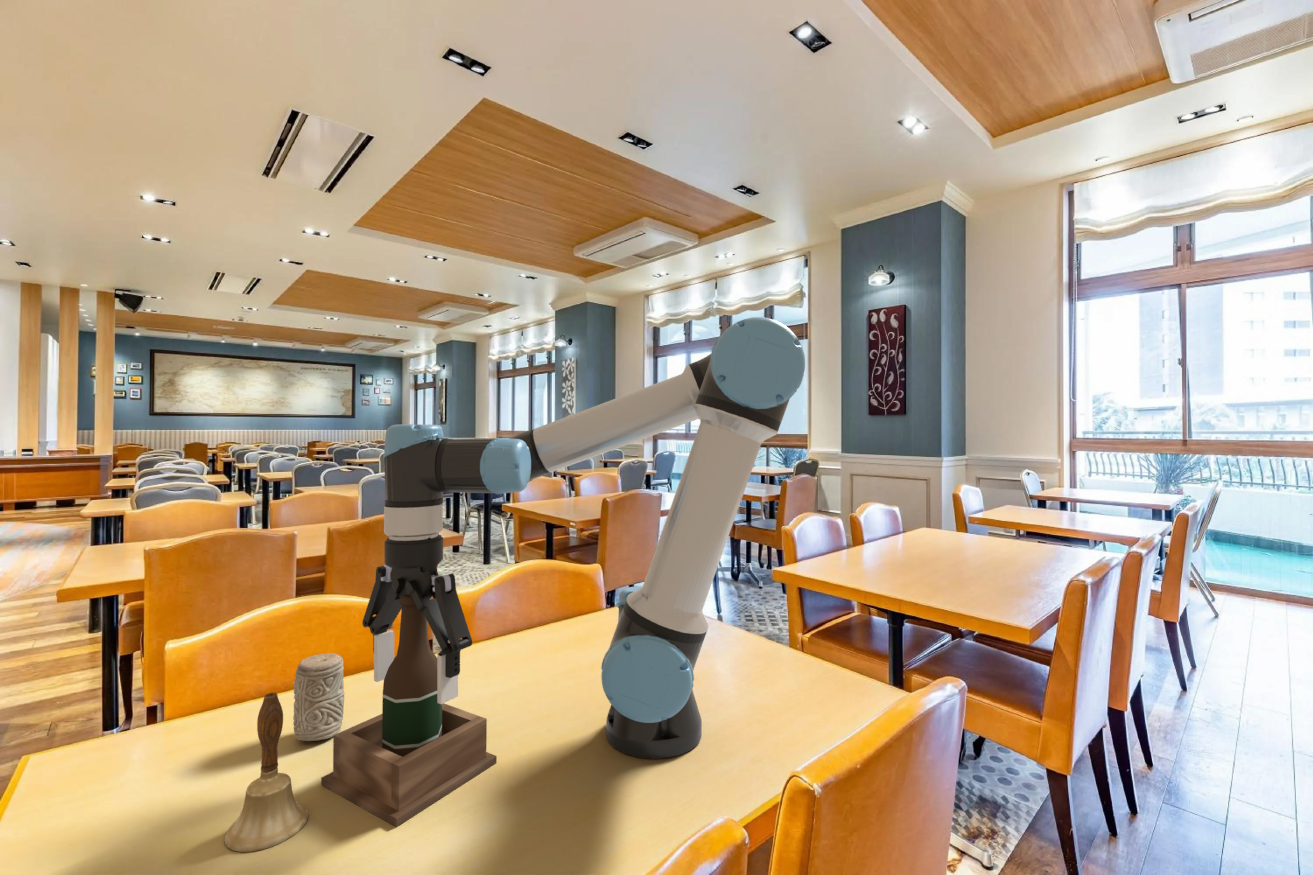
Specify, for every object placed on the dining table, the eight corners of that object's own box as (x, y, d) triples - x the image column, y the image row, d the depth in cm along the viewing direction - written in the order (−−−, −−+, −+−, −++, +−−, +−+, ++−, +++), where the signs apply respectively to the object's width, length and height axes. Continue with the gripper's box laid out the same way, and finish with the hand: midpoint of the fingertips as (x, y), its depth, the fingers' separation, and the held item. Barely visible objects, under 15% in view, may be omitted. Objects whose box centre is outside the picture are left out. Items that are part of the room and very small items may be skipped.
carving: (353, 724, 93) (354, 650, 93) (322, 749, 86) (323, 669, 86) (316, 722, 94) (317, 649, 94) (282, 747, 86) (283, 667, 86)
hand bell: (322, 805, 73) (323, 679, 73) (282, 852, 65) (283, 710, 65) (255, 806, 73) (256, 679, 73) (206, 853, 65) (207, 710, 65)
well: (496, 762, 83) (496, 717, 83) (396, 826, 69) (397, 772, 69) (423, 732, 91) (423, 691, 91) (321, 784, 77) (321, 736, 77)
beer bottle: (421, 786, 76) (423, 603, 76) (368, 779, 77) (370, 599, 77) (453, 754, 83) (454, 588, 83) (404, 748, 85) (406, 584, 85)
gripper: (499, 539, 77) (499, 698, 77) (383, 525, 90) (383, 661, 90) (453, 548, 71) (454, 722, 71) (335, 531, 83) (336, 679, 83)
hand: (414, 688), depth 80 cm, fingers open, 13 cm apart
